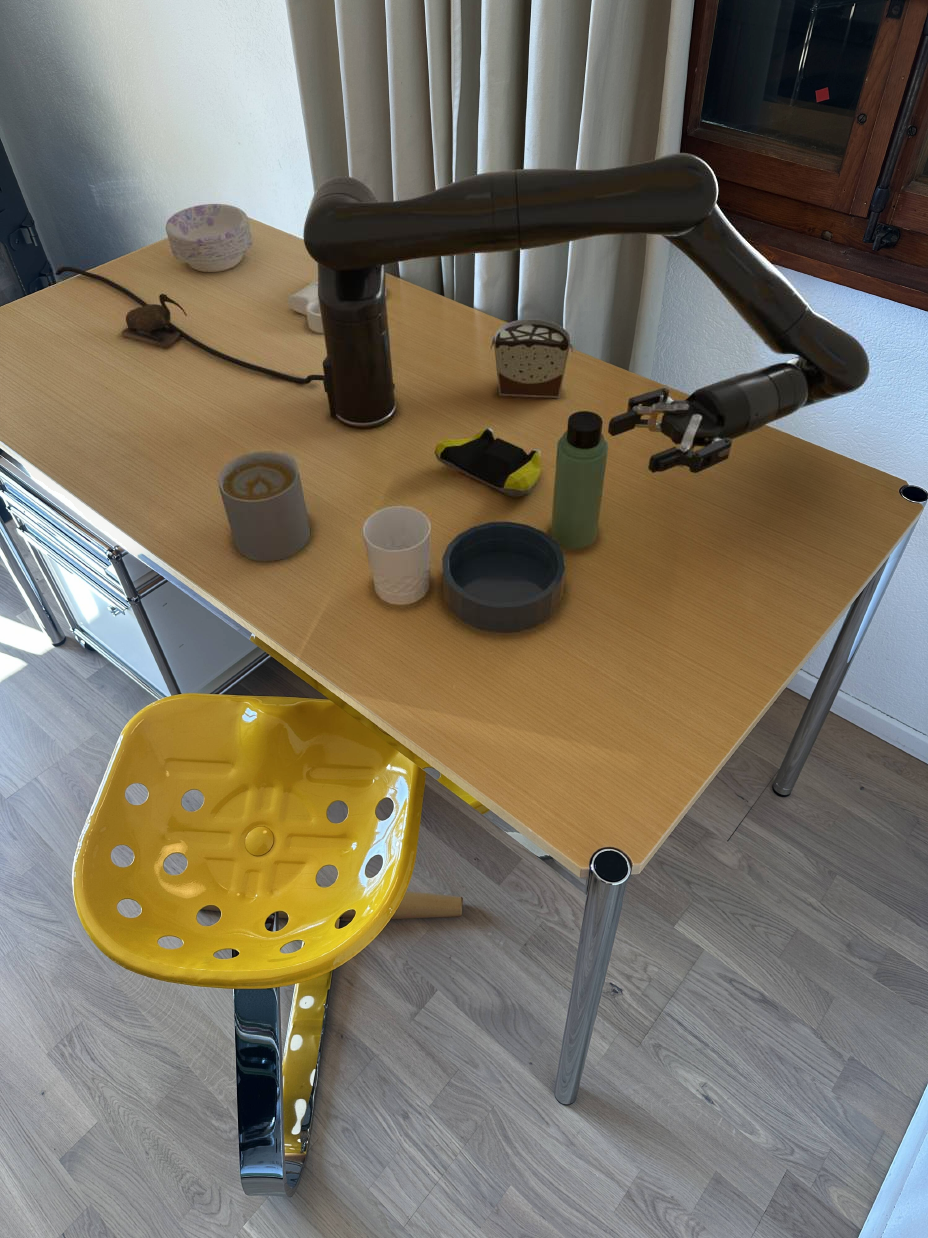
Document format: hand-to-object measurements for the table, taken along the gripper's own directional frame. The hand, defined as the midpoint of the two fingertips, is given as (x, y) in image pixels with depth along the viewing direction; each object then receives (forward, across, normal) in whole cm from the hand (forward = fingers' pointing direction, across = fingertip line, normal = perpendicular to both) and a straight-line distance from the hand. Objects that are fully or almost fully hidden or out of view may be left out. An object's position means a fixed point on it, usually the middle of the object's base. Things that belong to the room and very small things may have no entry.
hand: (630, 446), depth 108 cm
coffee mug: (+40, -21, +12) cm, 47 cm away
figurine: (+41, -76, +12) cm, 87 cm away
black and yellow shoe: (+10, -16, +12) cm, 22 cm away
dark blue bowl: (+20, +4, +12) cm, 24 cm away
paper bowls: (+24, -100, +12) cm, 103 cm away
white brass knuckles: (+10, -71, +12) cm, 72 cm away
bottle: (+7, 0, +12) cm, 14 cm away
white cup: (+31, -3, +12) cm, 33 cm away
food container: (-6, -33, +12) cm, 36 cm away
